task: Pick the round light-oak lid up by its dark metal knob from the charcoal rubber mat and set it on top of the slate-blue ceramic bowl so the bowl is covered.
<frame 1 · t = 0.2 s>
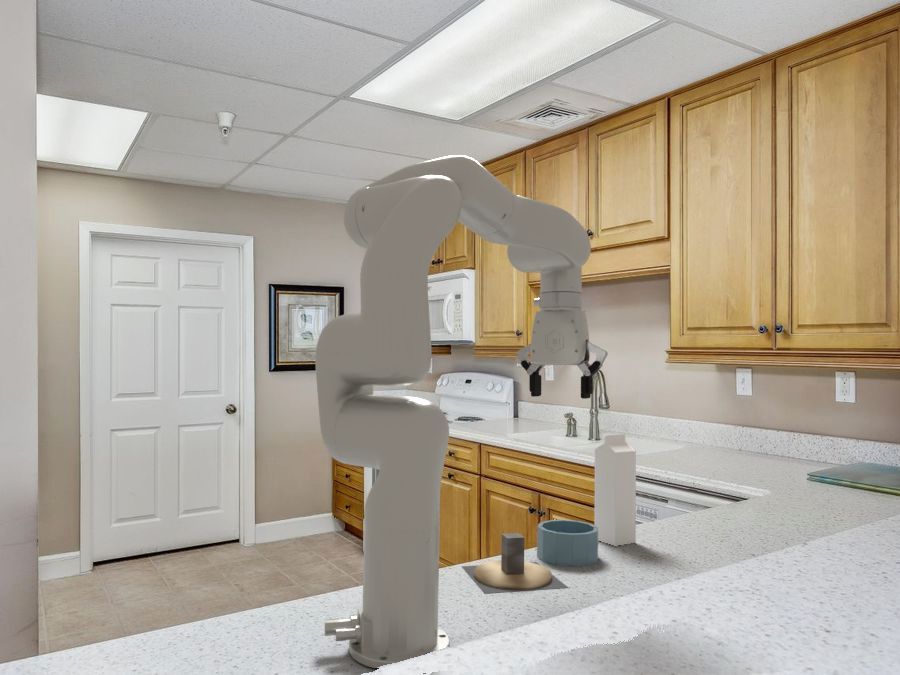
hand: (560, 397, 119), 30 cm above the table, tool pointing down, fingers open, 9 cm apart
mat: (512, 579, 110), on the table
milk: (614, 542, 135), on the table
bowl: (567, 559, 122), on the table
lid: (512, 576, 110), resting on mat
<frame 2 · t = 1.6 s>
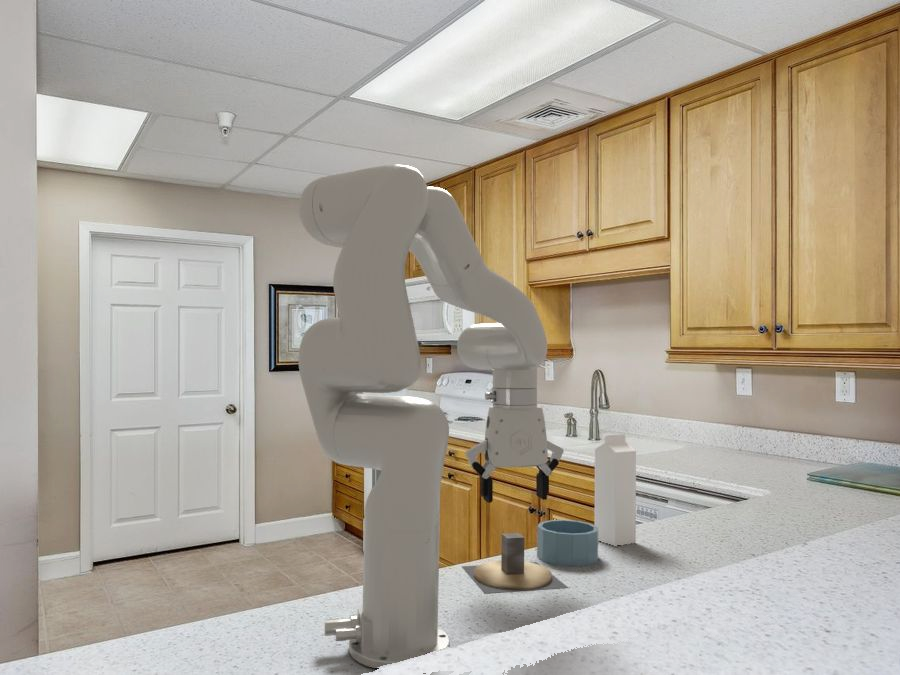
hand: (515, 499, 111), 13 cm above the table, tool pointing down, fingers open, 9 cm apart
nothing on the table moved.
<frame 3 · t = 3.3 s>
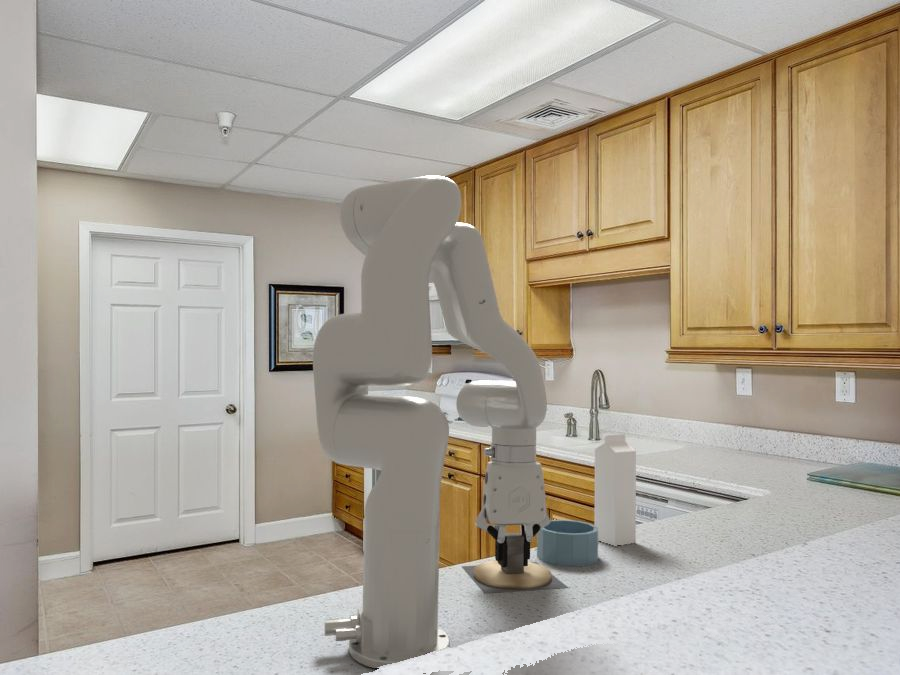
hand: (512, 563, 110), 3 cm above the table, tool pointing down, fingers closed on lid, 3 cm apart
lid: (512, 576, 110), point 1 cm above the table, touching gripper
everything else where it was.
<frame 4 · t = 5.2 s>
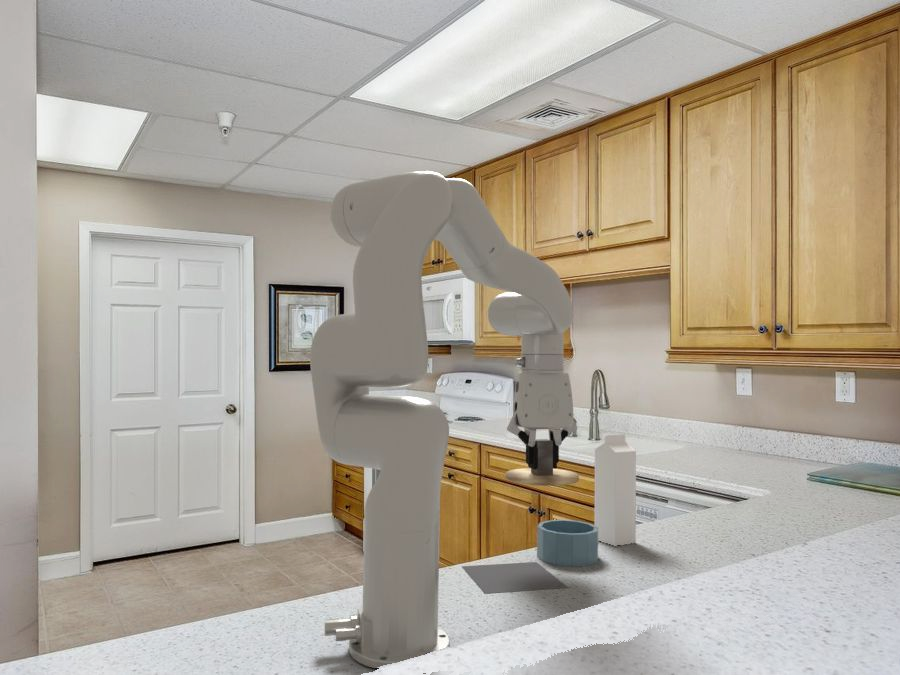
hand: (542, 466, 117), 18 cm above the table, tool pointing down, fingers closed on lid, 3 cm apart
lid: (541, 478, 117), point 16 cm above the table, touching gripper
everything else where it was.
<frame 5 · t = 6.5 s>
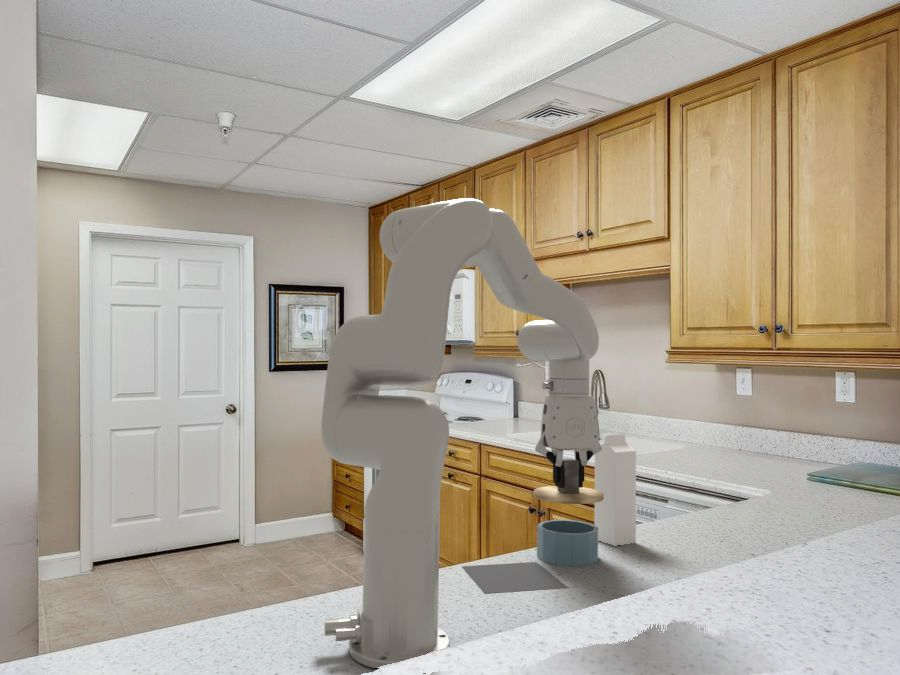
hand: (568, 485, 122), 14 cm above the table, tool pointing down, fingers closed on lid, 3 cm apart
lid: (568, 496, 122), point 12 cm above the table, touching gripper
everything else where it was.
when the fingers open (9 cm above the table, at t = 7.4 s): lid drops 1 cm, resting on bowl.
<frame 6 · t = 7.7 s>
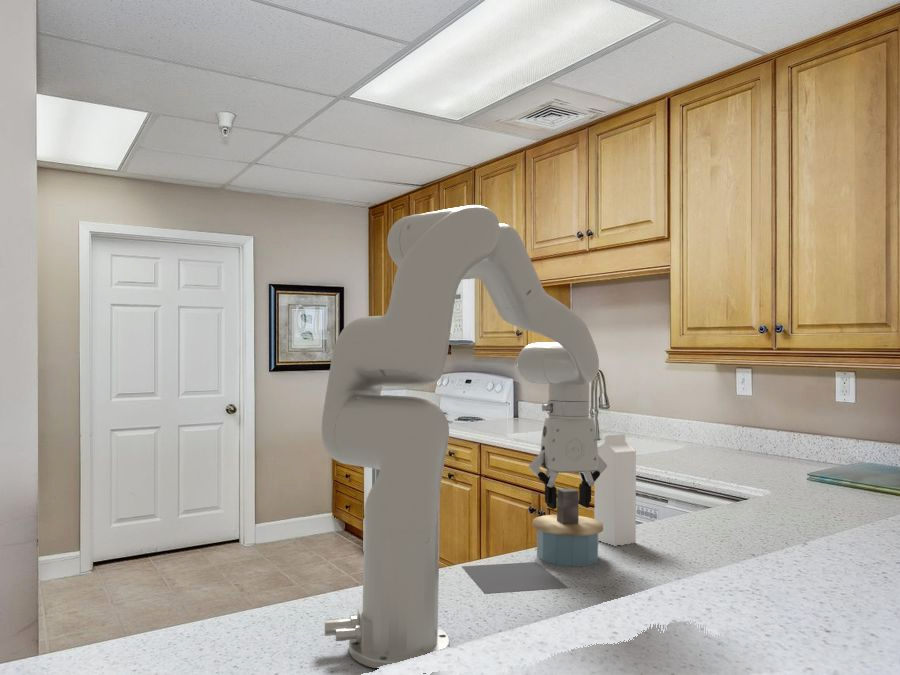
hand: (568, 506, 122), 10 cm above the table, tool pointing down, fingers open, 6 cm apart
bowl: (567, 559, 122), on the table, touching lid
lid: (567, 526, 122), point 6 cm above the table, touching bowl
everything else where it was.
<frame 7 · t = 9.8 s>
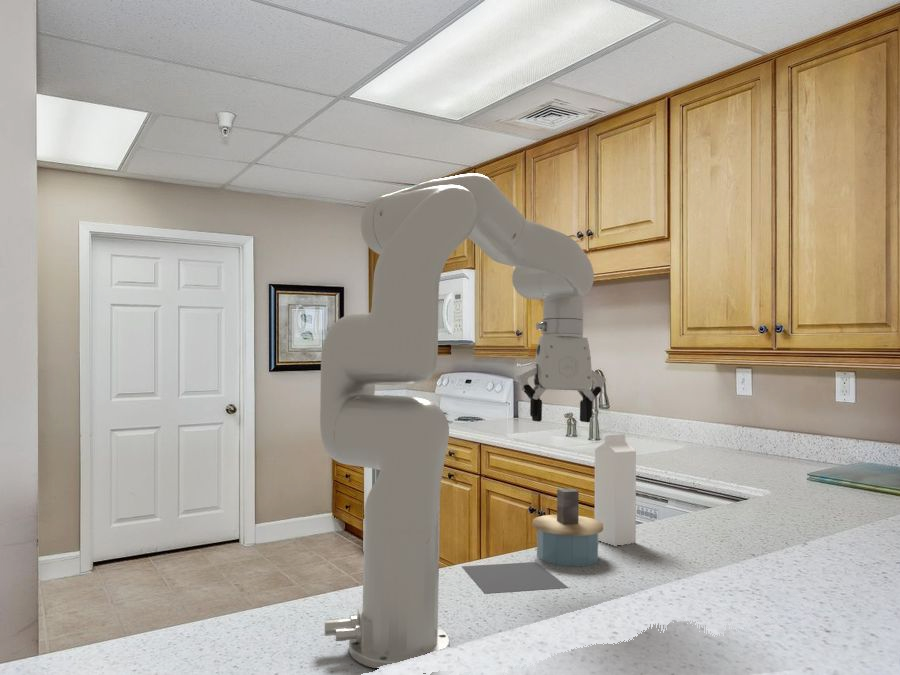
hand: (561, 421, 122), 26 cm above the table, tool pointing down, fingers open, 9 cm apart
nothing on the table moved.
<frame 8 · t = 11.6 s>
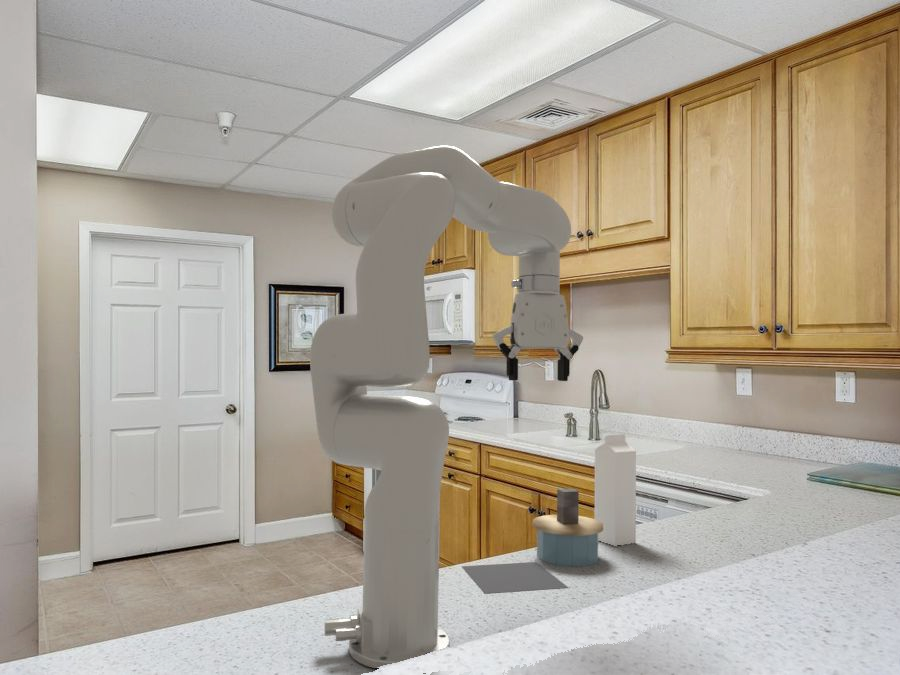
hand: (538, 380, 120), 33 cm above the table, tool pointing down, fingers open, 9 cm apart
nothing on the table moved.
at the end: lid 0.1 cm off-centre on the bowl, point 6.0 cm above the bowl's base; lid tilted 0°; lid touching bowl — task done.
